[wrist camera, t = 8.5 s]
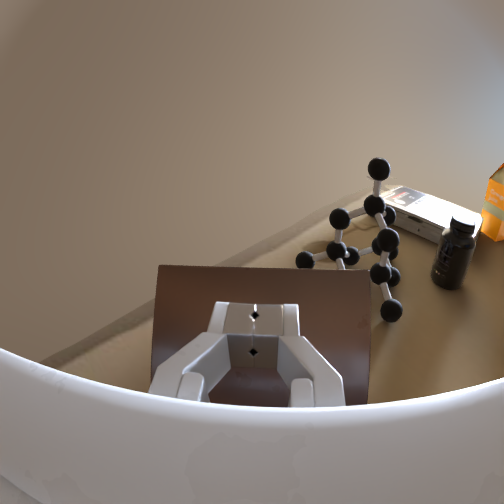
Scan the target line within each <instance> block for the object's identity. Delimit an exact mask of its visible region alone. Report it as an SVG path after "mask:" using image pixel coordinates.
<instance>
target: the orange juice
mask: <svg viewBox="0 0 504 504" xmlns="http://www.w3.org/2000/svg"><path fill="white" fill-rule="evenodd" d="M481 217H483V218H484V220H483V224H482V227H481V228H482V229H481V232H483V233H484V234H486V235H487V236H488V237H490V238H491V239H493V240H494V241H495V242H496V241H501V240H504V163H503V164H502V165H501V167H500V168H499V169H498V170H497V171H496V172H495V173H494V174H493V175H492V176H491V177H490V178H489V183H488V188H487V192H486V197H485V201H484V205H483V209H482V213H481Z"/></svg>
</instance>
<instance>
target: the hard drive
mask: <svg viewBox="0 0 504 504" xmlns="http://www.w3.org/2000/svg"><path fill="white" fill-rule="evenodd" d="M380 196H381V197H382V198H383V199H384V201H385V205H386V206H390V207H392V208H393V209H394V210H395V213H396V220H395V222H394V223H393V224H394V225H396V226H398V227H401V228H403V229H405V230H408V231H410V232H412V233H415V234H417V235H419V236H421V237H424V238H426V239H428V240H430V241H432V242H435V243H437V244H439V241H440V237H441V234H442V232H443V230H444V229H446V228H448V227H449V222H450V220H451V215H452V214H455V213H458V214H463V215H466V216H468V217H470V218H472V219H473V220H474V221H475V222H476V227H475V233H474V235H472V236H473V237H474V239H475V242H476V240H477V239H478V237H479V235H480V232H481V229H482V228H481V227H482V224H483V220H484V218H483V217H481V216H479V215H476V214H474V213H472V212H469V211H467V210H465V209H462V208H460V207H457V206H455V205H452V204H450V203H447V202H445V201H442V200H440V199H437V198H435V197H432V196H429V195H427V194H424V193H421V192H418V191H415V190H413V189H410V188H407V187H404V186H399V187H396V188H394V189H391V190H389V191H386V192H384V193H382V194H380Z"/></svg>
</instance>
